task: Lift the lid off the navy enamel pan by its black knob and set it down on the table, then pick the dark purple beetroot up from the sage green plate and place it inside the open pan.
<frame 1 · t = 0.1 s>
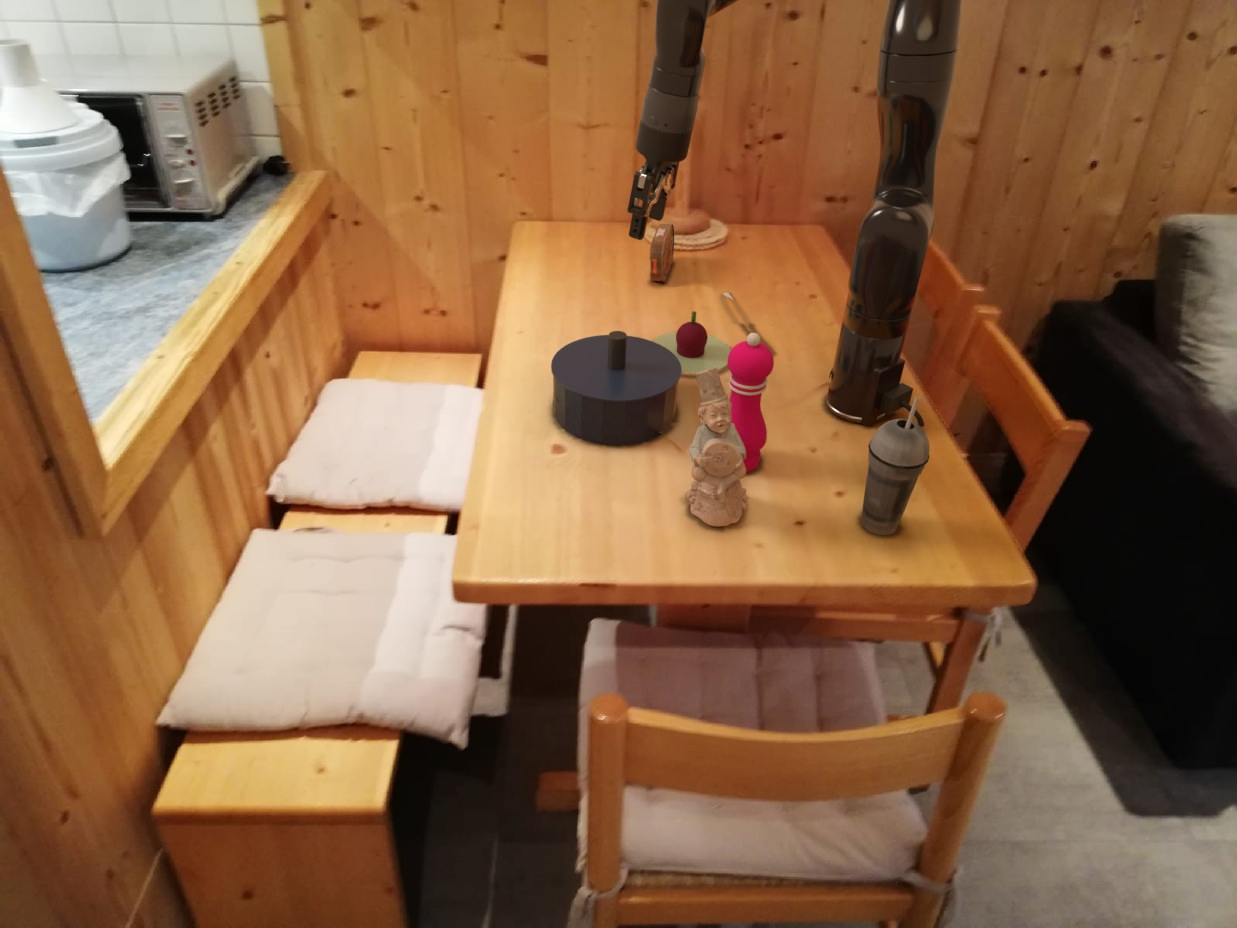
hand: (645, 228, 137), 22 cm above the table, tool pointing down, fingers open, 8 cm apart
butter knife: (744, 323, 162), on the table
beet: (690, 351, 151), point 1 cm above the table, touching plate
pan lid: (616, 367, 133), point 7 cm above the table, touching pan
figurine: (715, 509, 119), on the table
pan: (614, 411, 137), on the table
plate: (689, 355, 152), on the table
pepper mill: (736, 461, 128), on the table
tin: (660, 273, 178), on the table
beverage cup: (878, 525, 118), on the table
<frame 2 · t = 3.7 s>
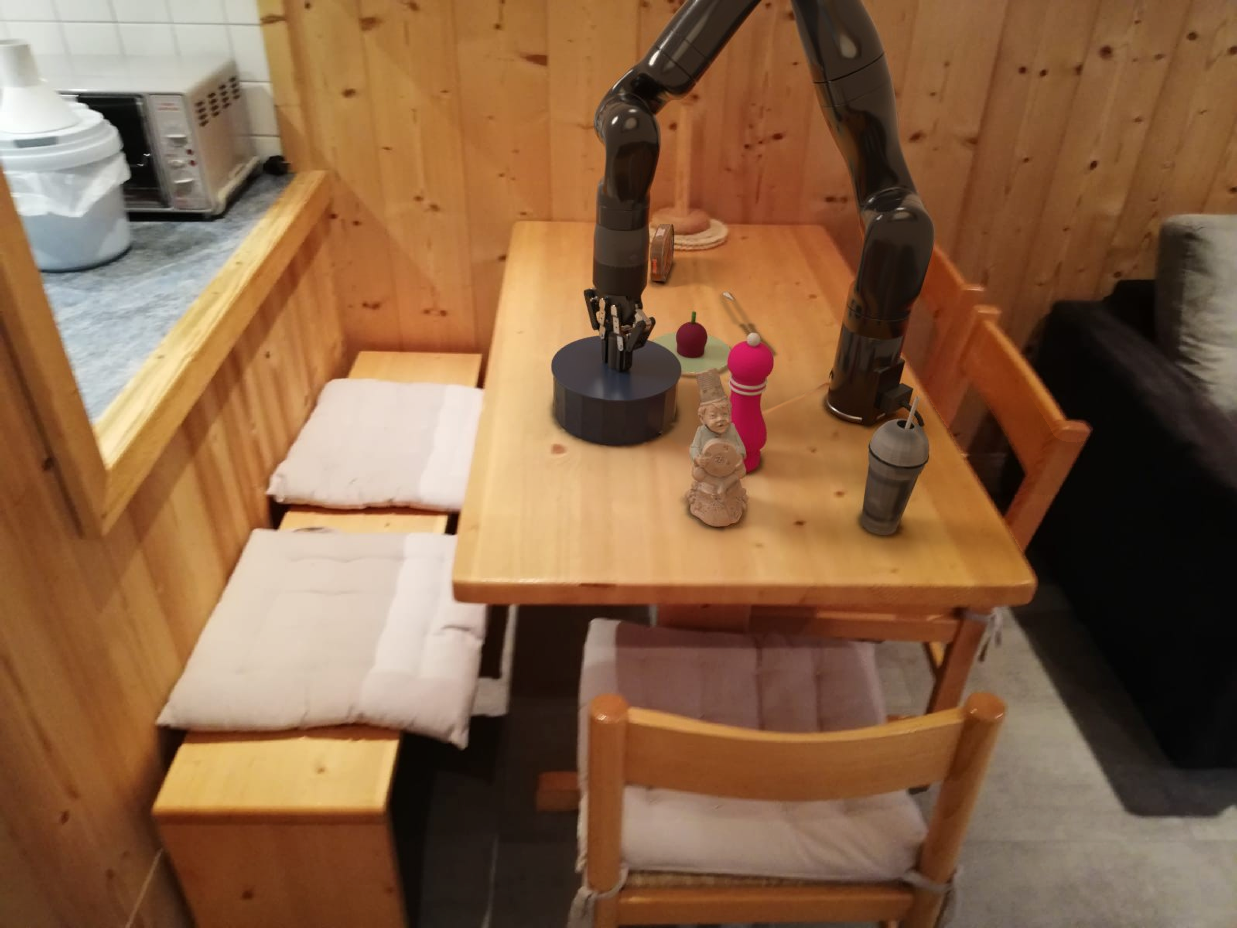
hand: (616, 364, 132), 8 cm above the table, tool pointing down, fingers closed on pan lid, 2 cm apart
pan lid: (616, 367, 133), point 7 cm above the table, touching gripper, pan
everything else where it was.
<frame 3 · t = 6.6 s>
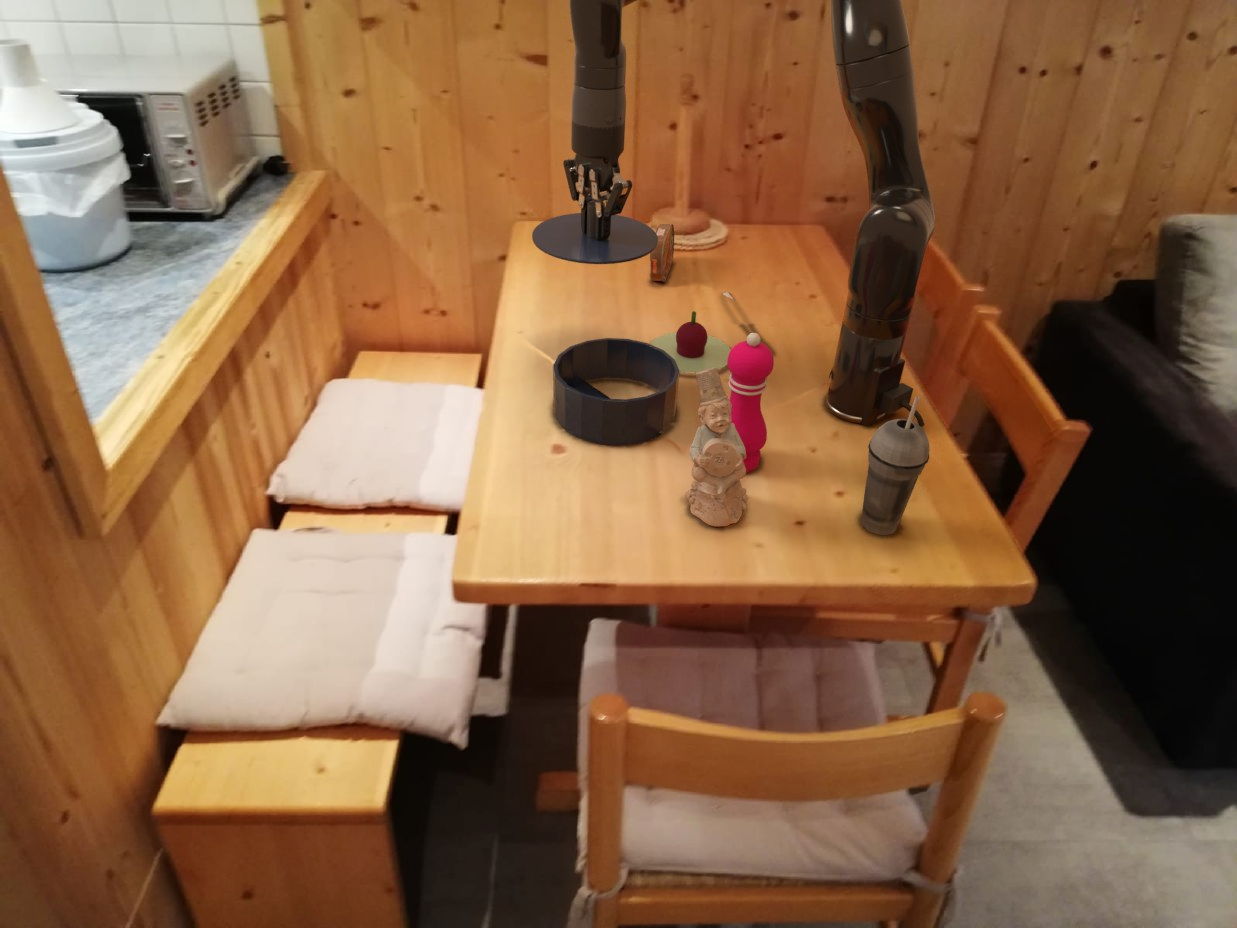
hand: (595, 235, 137), 21 cm above the table, tool pointing down, fingers closed on pan lid, 2 cm apart
pan lid: (595, 238, 137), point 21 cm above the table, touching gripper
everything else where it was.
when the fingers open (1 cm above the table, at t = 11.9 s): pan lid stays where it is, point 1 cm above the table.
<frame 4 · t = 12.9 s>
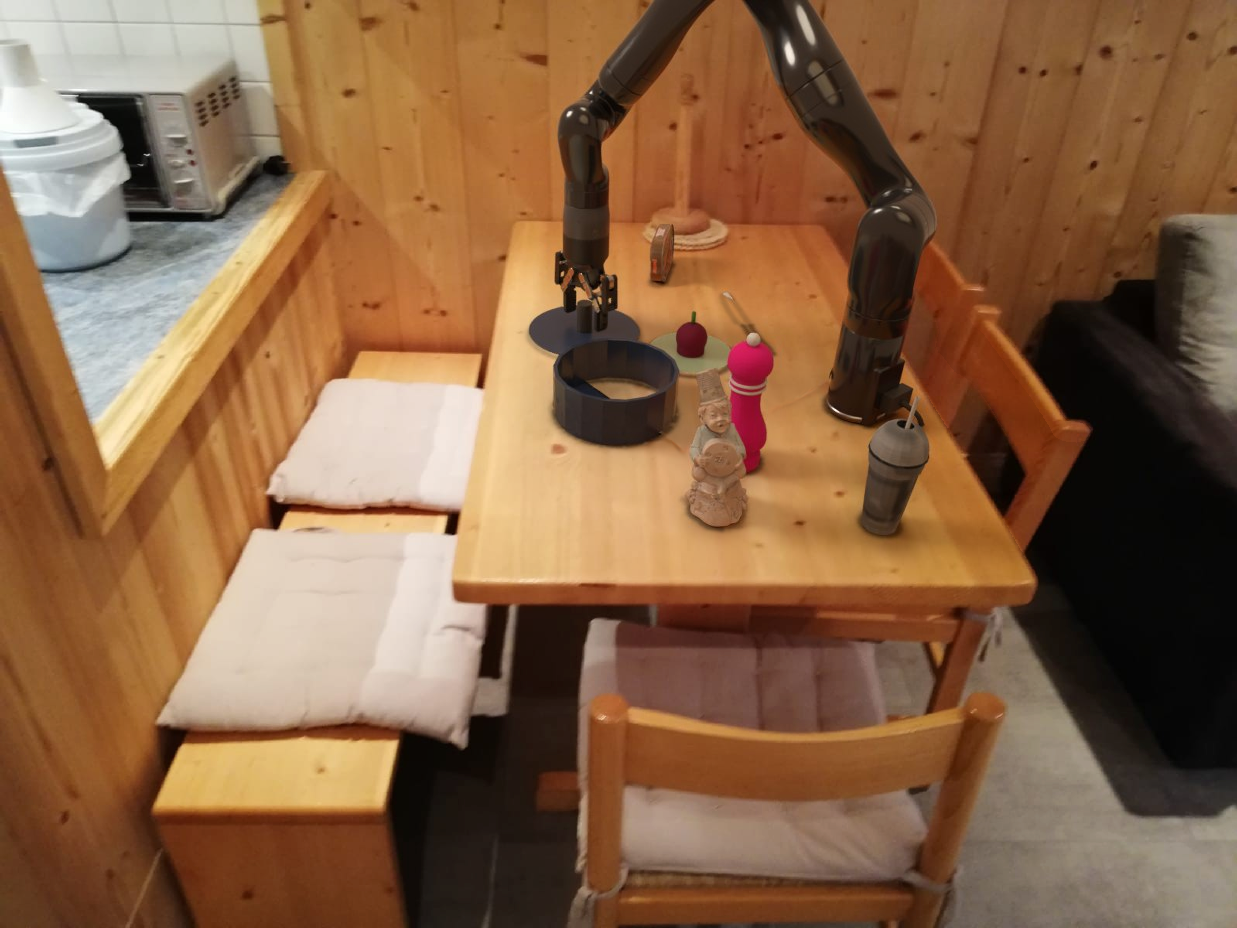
hand: (584, 320, 155), 3 cm above the table, tool pointing down, fingers open, 8 cm apart
pan lid: (584, 331, 156), point 1 cm above the table
everything else where it was.
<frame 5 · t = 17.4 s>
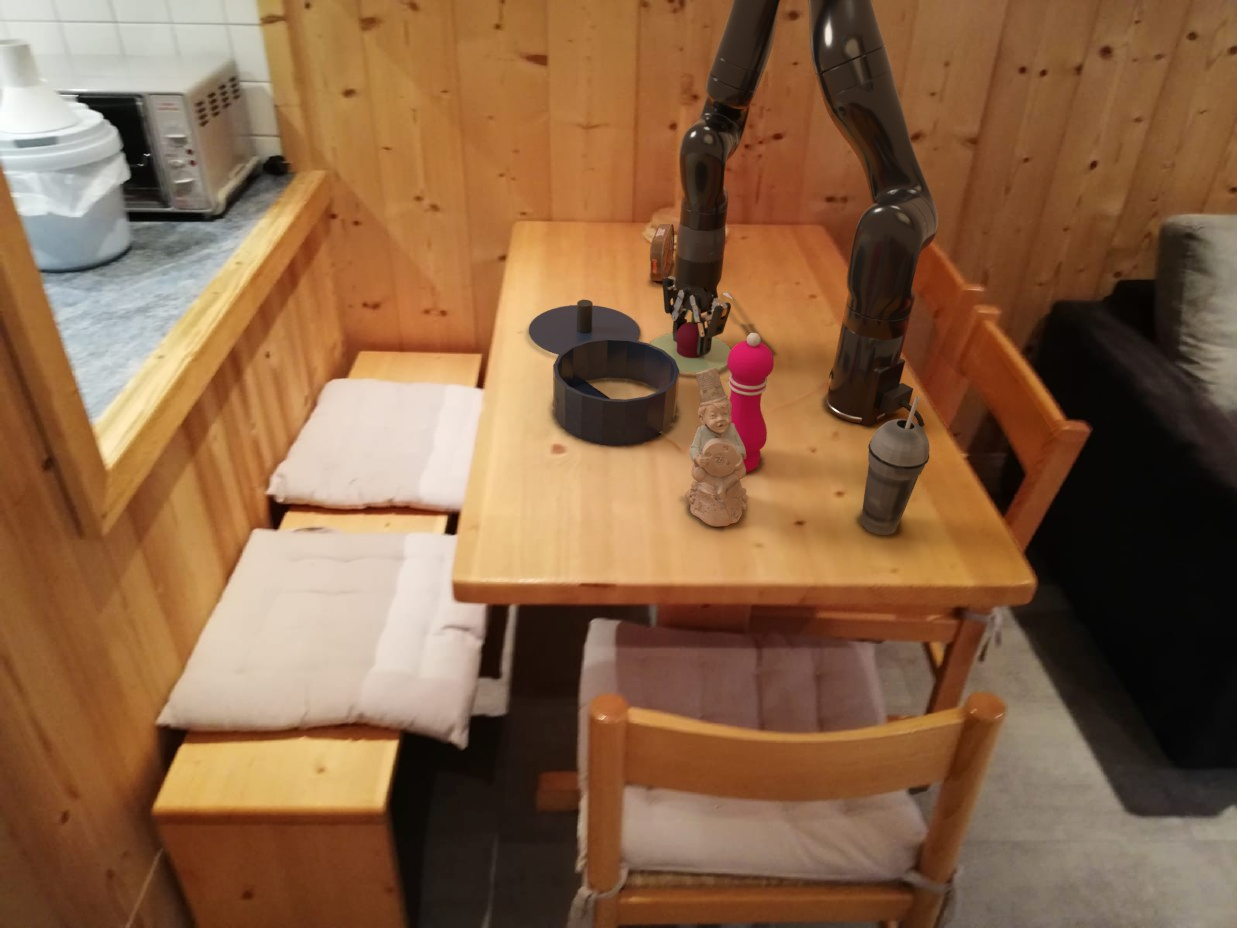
hand: (690, 346, 151), 2 cm above the table, tool pointing down, fingers closed on beet, 5 cm apart
beet: (690, 351, 151), point 1 cm above the table, touching gripper, plate
everything else where it was.
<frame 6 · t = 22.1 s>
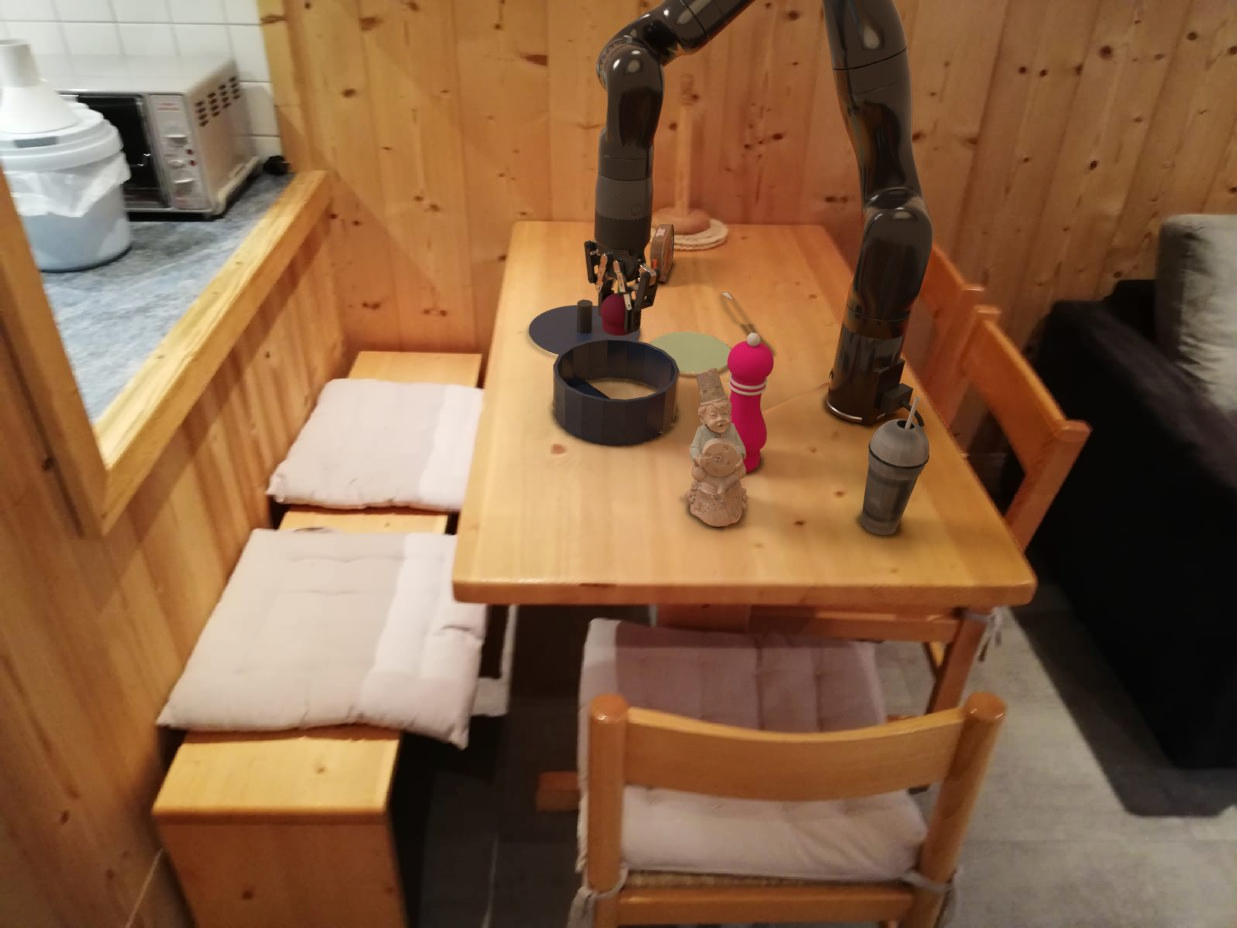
hand: (618, 322, 128), 15 cm above the table, tool pointing down, fingers closed on beet, 5 cm apart
beet: (618, 328, 129), point 14 cm above the table, touching gripper
everything else where it was.
when the fingers open (1 cm above the table, at t = 25.5 s): beet stays where it is, resting on pan.
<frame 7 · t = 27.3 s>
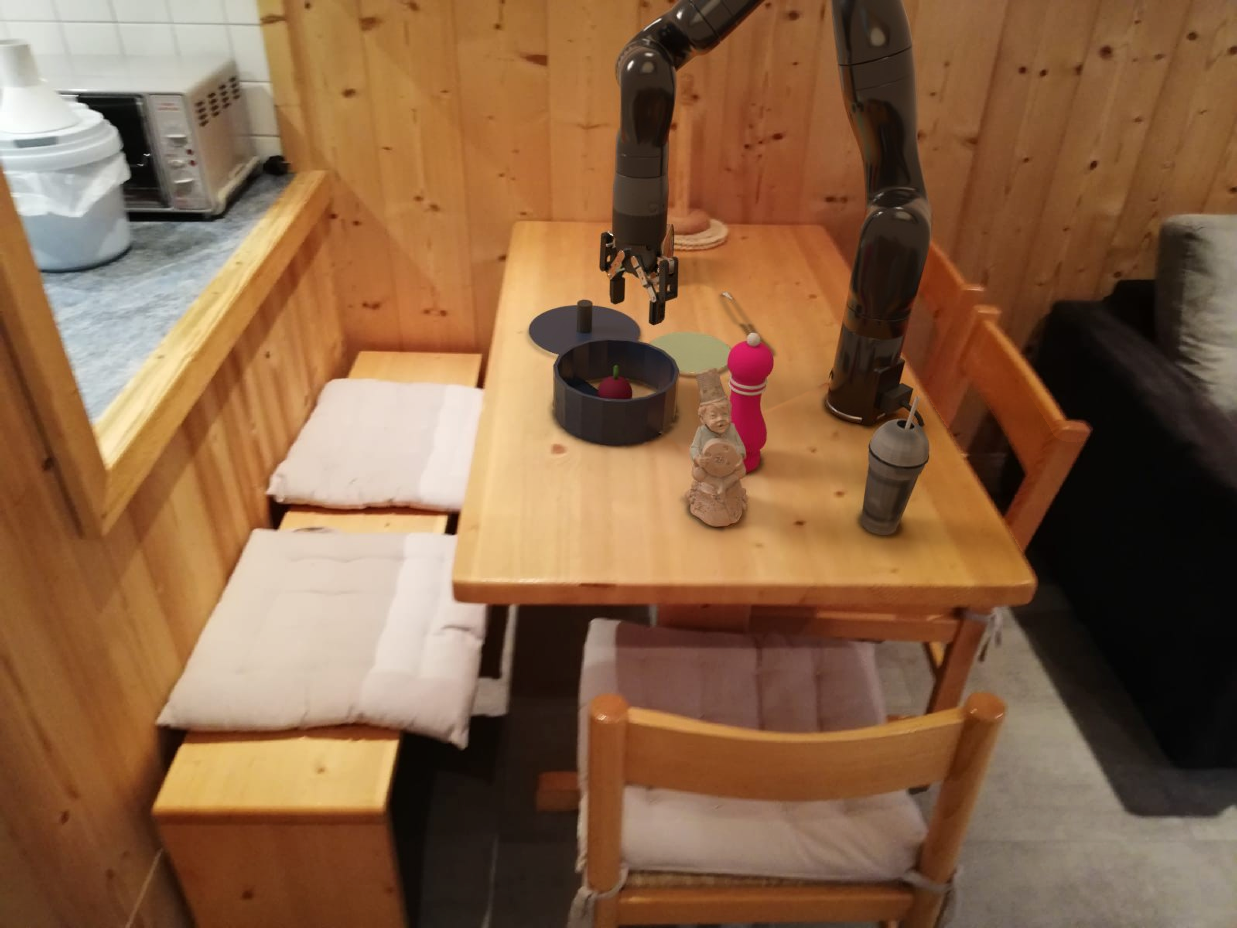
hand: (636, 312, 132), 14 cm above the table, tool pointing down, fingers open, 8 cm apart
beet: (614, 408, 137), resting on pan
everything else where it was.
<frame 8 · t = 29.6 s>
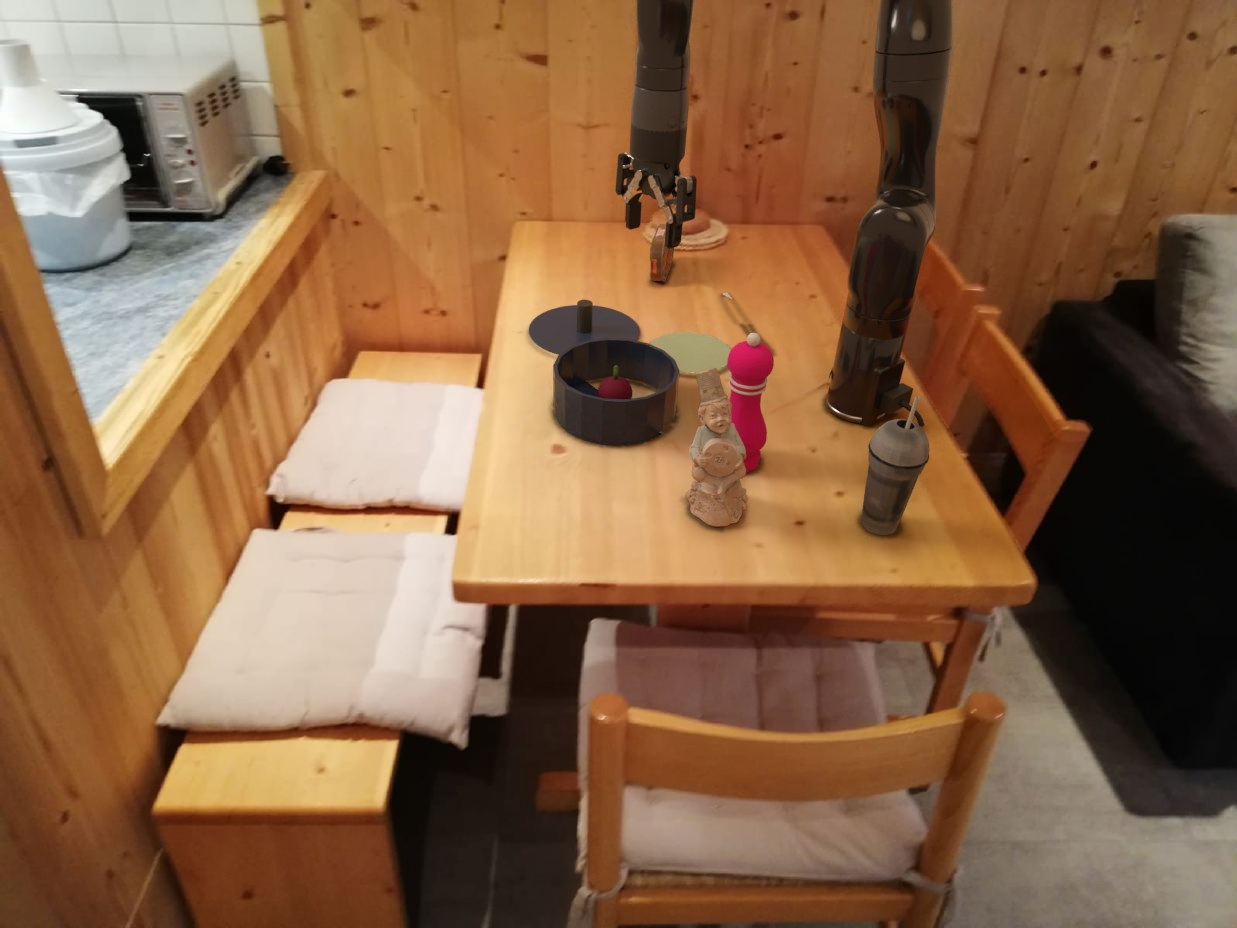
hand: (651, 237, 130), 24 cm above the table, tool pointing down, fingers open, 8 cm apart
nothing on the table moved.
at the end: beet inside the target area in the pan (0.1 cm from its centre), point 0.5 cm above the pan's base; pan lid inside the target area (0.0 cm from its centre), point 0.6 cm above the table; the gripper is holding nothing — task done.
